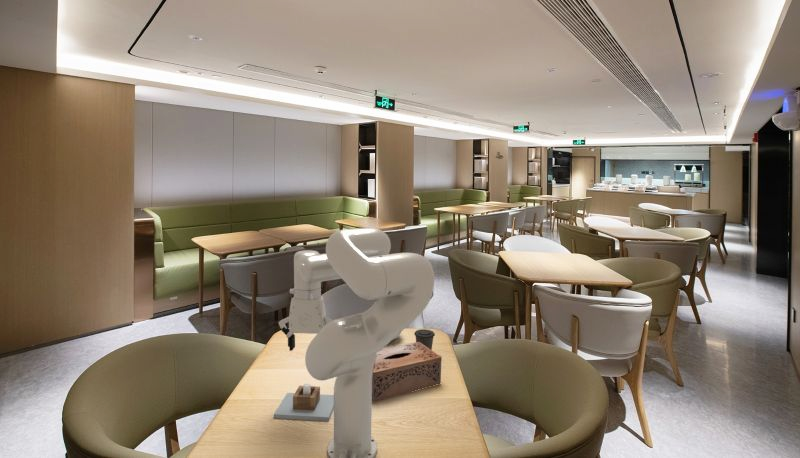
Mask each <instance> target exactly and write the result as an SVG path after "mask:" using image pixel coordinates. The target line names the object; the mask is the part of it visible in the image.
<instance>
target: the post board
mask: <svg viewBox="0 0 800 458" xmlns="http://www.w3.org/2000/svg"><path fill="white" fill-rule="evenodd" d="M302 386H303V395H311V386H312V385H311V384H310V383H304V384H303V385H302ZM294 394H295V392H287V393H286V395H284V398H283V399H282V401H281V402H280V404H279V405H278V407H277V409H276V410H275V412H274V413H273V419H284V420H300V421H301V420H302V421H303V420H304V421H321V422H329V421H330V420H331V417H332V415H333V414H332V413H333V412H334V394H321V393H320V400H319V402H318V404H317V406H316V408H315V410H296V409H293V395H294Z"/></svg>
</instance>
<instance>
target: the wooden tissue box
mask: <svg viewBox="0 0 800 458" xmlns="http://www.w3.org/2000/svg"><path fill="white" fill-rule="evenodd" d="M294 393H295V394H294V395H293V409H296V410H315V408H316V406H317V404H318V402H319V400H320V394H321V386H313V385H311V395H303V385H298V387H297V389H296V391H295V392H294Z"/></svg>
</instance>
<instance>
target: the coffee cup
mask: <svg viewBox="0 0 800 458" xmlns="http://www.w3.org/2000/svg"><path fill="white" fill-rule="evenodd" d="M413 334H414V336H415V343H416V342H420V343H422V344H423V345H425V346H426V347H428V348H429V349H430V350H432V349H433V343H434V337H435V336H436V335H435V332H434V331H433V330H430V329H421V328H420V329H417V330H416V331H415V332H414V333H413ZM432 351H433V350H432Z"/></svg>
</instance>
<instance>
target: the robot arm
mask: <svg viewBox="0 0 800 458" xmlns="http://www.w3.org/2000/svg"><path fill="white" fill-rule="evenodd" d="M391 247H392V244H391V239H390V237H389V235H388V234H387V233H386V232H385V231H383V230H382V229H379V228H376V227H362V228H361V227H360V228H358V227H357V228H348V229H347V228H346V229H340V230H336V231H335V232H332V234H331V235H330V236H329V237H328V238H327V241H326V245H325V253H320V252H318V251H317V250H309V249H307V250H304V249H303V250H299V251H297V252H295V254H294V255H293V276H294V277H293V282H294V283H293V284H294V285H293V286H294V287H293V288H289V294H292V295H293V297H291V299H290V306H289V313H288V315H289V316H287V317H285V318H283V319H281V320H279V321H278V325H279V328H280V329H281V331H282V333H283V334H285V337H286V338H287V347H289V351H290V352H292V351H293V350H295V349H294V348H296V334H308V335H309V334H312V335H313V334H315V336H314V337H313V339H312V340H311V341H310V343H309V344H308V345H307V349H306V351H305V356H304V359H305V360H304V362H305V363H304V364H305V367H306V370H307V372H308V374H309V375H310V376H311V377H312V378H313V379H315V380H317V381H326V380H331V379H333V378H335V380H334V386H333V395H334V409H333V438H332V439H331V440H330V441H329V443H328V445H327V455H328V458H375V457H376V455H377V451H378V443H377V441H376V439H375V438H374V437H373V435H372V415H373V414H372V409H373V408H372V407H373V403H372V378H373V369H374V364H375V360H376V354H377V352H378V351H380V350H381V349H385V347H386V346H388V344H390V343H391V342H392V341H393V340H395V339H396V338H395V337H396V336H397V335H398V334H399V333H400V332H401V333H402V331H404V330H405V329H406V328H407V327H409V325H411V324H412V323H413V322H414V321H415V320H416V319H417V318H419V317H420V315H421V314H422V313H423V312H424V311H425V310H426V308H427V306H428V305H429V303H430V301H431V299H432V296H433V293H434V292H433V291H434V287H435V273H434V268H433V265H432V262H431V261H430V260H429V259H428V258H427V257H425V256H423V255H421V254H419V253H416V252H415V253H414V252H397V253H390V251H391ZM334 280H342V281H343V282H344V283H345V284H346V285H347V286H348V287H349V288H350V289H351V291H352V292H353V293H354V294H355V295H357V296H358V297H359V298H361V299H362V300H367V301H370V300H371V301H375V300H376V301H375V302H374V303H373V304H372V305H371V307H369V308H368V309H367V310H365V311H364V312H359V313H357V314H356V313H355V314H352V315H347V316H343V317H339V318H338V317H337V318H336V319H333V318H330V317H327V314H326V313H327V312H326V305H325V300H324V299H325V298H324V297H323V296H322V289H321V288H322V285H321V284H322V282H328V281H334ZM286 324H288V326H287V325H286ZM394 338H395V339H394Z"/></svg>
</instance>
